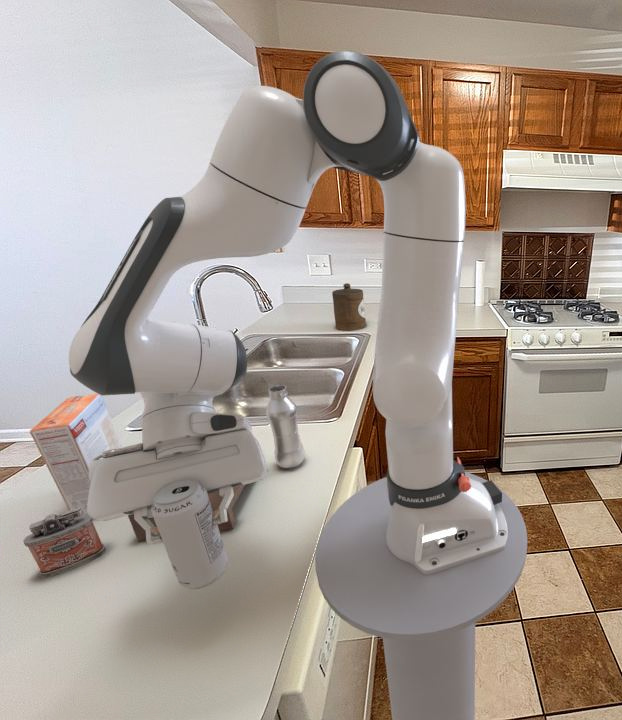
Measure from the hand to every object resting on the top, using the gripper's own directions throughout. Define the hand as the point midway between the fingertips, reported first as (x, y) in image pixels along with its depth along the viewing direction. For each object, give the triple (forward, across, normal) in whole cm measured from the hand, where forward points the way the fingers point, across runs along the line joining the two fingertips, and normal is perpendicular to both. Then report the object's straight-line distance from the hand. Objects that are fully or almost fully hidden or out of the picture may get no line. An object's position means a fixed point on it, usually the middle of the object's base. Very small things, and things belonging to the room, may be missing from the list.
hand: (189, 532), depth 53 cm
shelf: (-9, -4, +33) cm, 34 cm away
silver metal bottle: (-14, +12, +38) cm, 42 cm away
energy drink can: (+6, 0, +6) cm, 9 cm away
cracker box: (-18, -24, +41) cm, 51 cm away
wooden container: (-93, +46, +117) cm, 156 cm away
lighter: (-4, -23, +28) cm, 36 cm away
